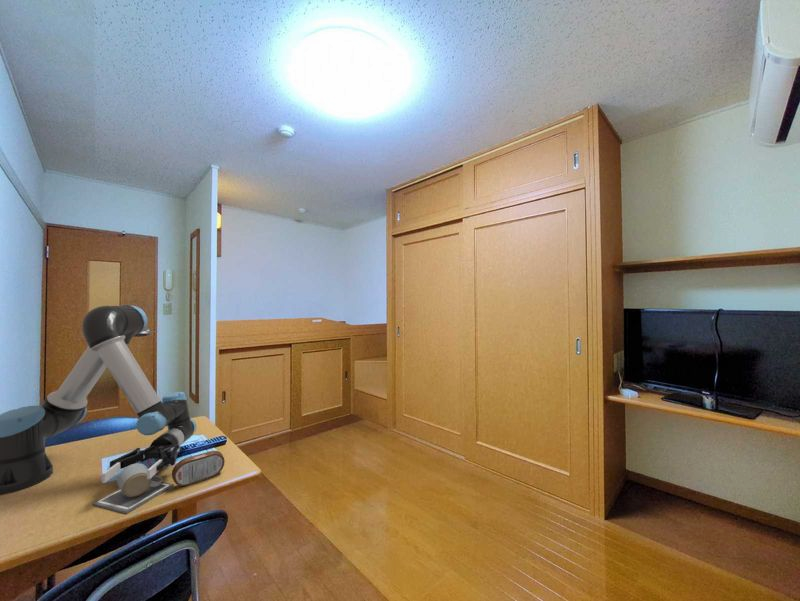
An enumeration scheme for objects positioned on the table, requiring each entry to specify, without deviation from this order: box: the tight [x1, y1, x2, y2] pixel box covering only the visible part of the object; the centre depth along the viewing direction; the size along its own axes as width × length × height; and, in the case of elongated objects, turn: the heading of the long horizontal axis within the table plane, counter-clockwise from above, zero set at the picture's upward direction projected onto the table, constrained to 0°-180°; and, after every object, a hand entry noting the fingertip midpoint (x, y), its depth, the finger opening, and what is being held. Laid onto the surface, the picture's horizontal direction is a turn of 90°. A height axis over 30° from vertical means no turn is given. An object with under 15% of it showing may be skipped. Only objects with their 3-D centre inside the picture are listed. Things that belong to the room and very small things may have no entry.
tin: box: [171, 450, 225, 487], centre depth 108 cm, size 15×3×8 cm, turn 133°
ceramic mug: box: [116, 462, 163, 497], centre depth 101 cm, size 11×8×8 cm
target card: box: [91, 480, 175, 515], centre depth 100 cm, size 14×14×1 cm
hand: (126, 476), depth 96 cm, fingers open, 11 cm apart
